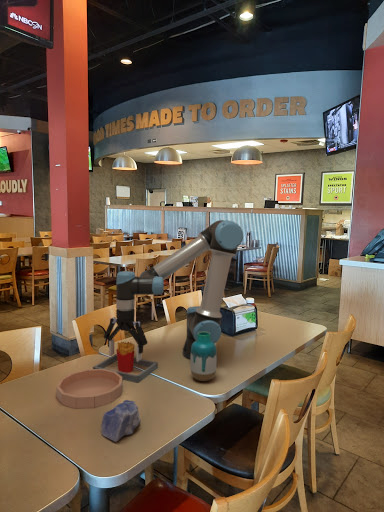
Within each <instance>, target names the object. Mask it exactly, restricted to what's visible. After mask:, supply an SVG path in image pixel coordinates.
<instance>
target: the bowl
mask: <svg viewBox="0 0 384 512" xmlns="http://www.w3.org/2000/svg"><path fill="white" fill-rule="evenodd" d="M106 369H107V368H105V369H93V368H89V369H84V370H80V371H75V372H71V373H69V374H67V375H66V376H64V377H62V378H61V379H59V382H57V383H58V384H57V385H56V399H57V400H58V402H59V403H60V404H61V405H62V406H66V407H69V408H73V409H78V410H79V409H94V408H98V407H103V406H104V405H107V404H112V403H113V402H114V401H115V400H116V399H119V397H121V396H122V393H123V381H124V380H123V379H122V376H120V375H119V374H118V373H117V372H115V371H116V370H114V371H110V370H111V369H109V370H106Z"/></svg>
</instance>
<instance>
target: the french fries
mask: <svg viewBox="0 0 384 512" xmlns="http://www.w3.org/2000/svg"><path fill="white" fill-rule="evenodd" d="M116 354H117V361H116V362H117V371H119V372H124V373H128V374H131V373H132V372H134V364H133V363H134V358H135V344H133V343H132V342H130V341H127V342H126V341H120V342H117V348H116Z"/></svg>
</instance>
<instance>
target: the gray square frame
mask: <svg viewBox="0 0 384 512" xmlns="http://www.w3.org/2000/svg"><path fill="white" fill-rule="evenodd" d="M114 362H117V353H114V354H113V355H112V356H109V357H107V358H106V359H104V360H103V361H101V362H99V363H98V364H95V365H94V366H92V369H106V370H110V371H115V372H117V373H118V374H119V375H120V376H122V380H123V381H124V380H125V381H127V382H132V383H137V384H139V383H140V382H141V381H143V380H144V379H145V378H147V377H148V376H149V375H150V374H152V373H153V372H154V371H156V370H157V369H158V368H159V363H158V361H152V360H148V359H143V358H141V360H140V361H138V362H137V361H136V357H134V363H133V365H136V366H137V365H138V366H141V367H146V368H145V370H143V371H141V372H140V373H139V374H138V375H137V374H132V373H125V372H121V371H119V370H114V369H110V368H109V369H108V368H106V367H108V366H110V365H111V364H113V363H114ZM109 364H110V365H109Z"/></svg>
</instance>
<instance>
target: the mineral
mask: <svg viewBox="0 0 384 512" xmlns="http://www.w3.org/2000/svg"><path fill="white" fill-rule="evenodd" d="M140 423H141V418H140V412H139V407H138V405H137V404H136V401H134V400H129V399H125V400H123V402H121V403H118V404H117V405H115V407H113V408H112V409H110V410H107V411H106V412H104V413H103V416H102V418H101V424H100V428H101V435H102V436H103V437H105V438H106V439H109V440H111V441H113V442H114V443H115V442H118V441H119V440H120V439H121V438H123V437H124V436H128V435H132V434H133V433H134V430H135V429H136V428H137V427H138V426H139V424H140Z"/></svg>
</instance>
